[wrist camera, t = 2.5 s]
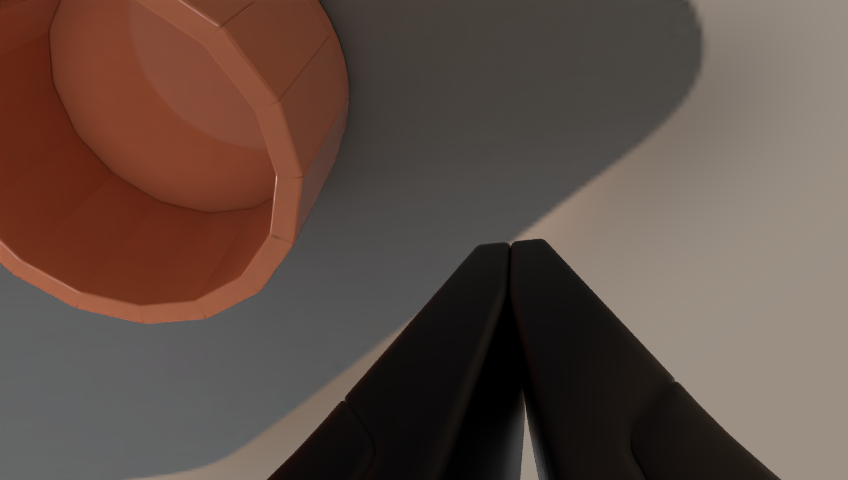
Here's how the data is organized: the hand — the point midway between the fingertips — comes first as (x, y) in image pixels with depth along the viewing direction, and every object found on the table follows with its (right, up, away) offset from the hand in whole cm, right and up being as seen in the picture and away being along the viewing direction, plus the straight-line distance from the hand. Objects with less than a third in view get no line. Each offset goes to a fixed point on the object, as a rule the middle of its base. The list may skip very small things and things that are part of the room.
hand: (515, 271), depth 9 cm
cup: (-8, +5, +11) cm, 14 cm away
